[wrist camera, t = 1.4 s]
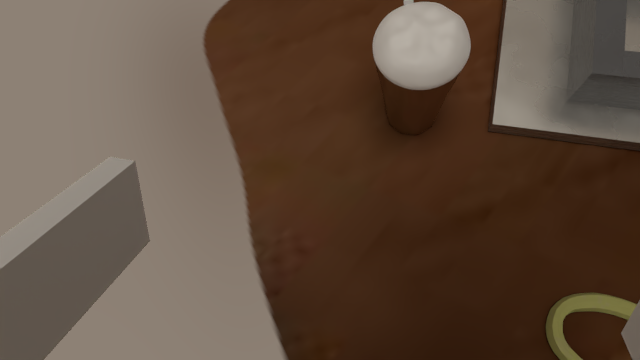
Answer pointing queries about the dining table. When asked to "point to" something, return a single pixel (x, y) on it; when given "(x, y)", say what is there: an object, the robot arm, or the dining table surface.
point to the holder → (569, 72)
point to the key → (575, 305)
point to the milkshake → (419, 62)
